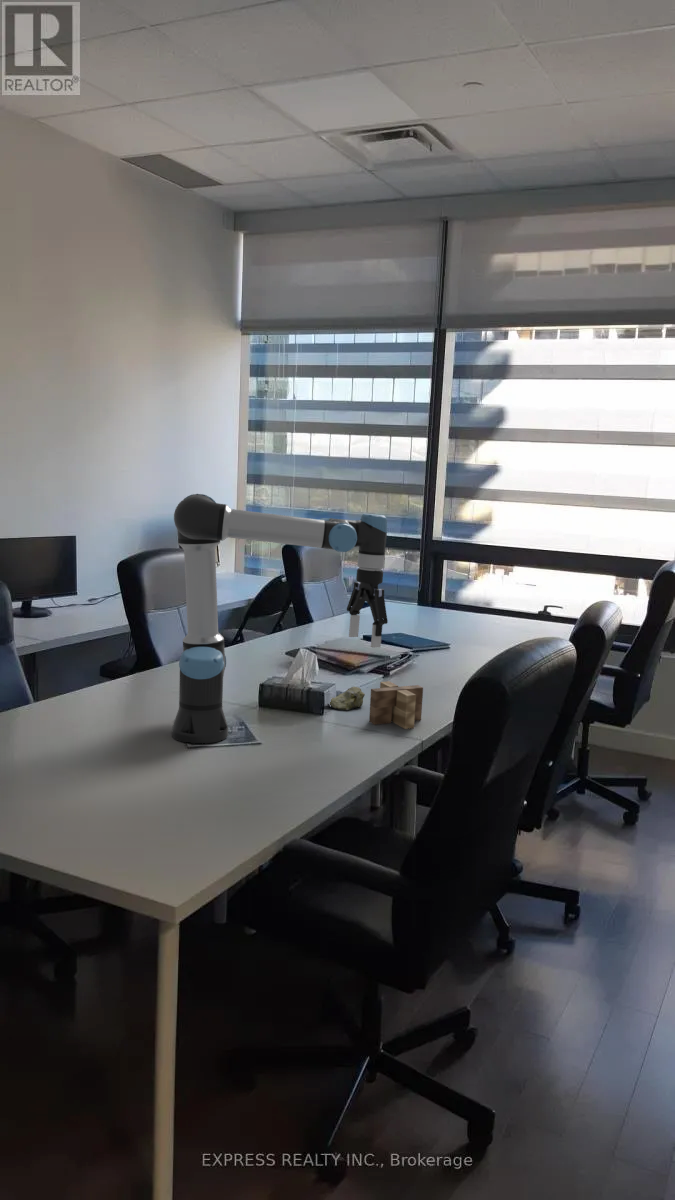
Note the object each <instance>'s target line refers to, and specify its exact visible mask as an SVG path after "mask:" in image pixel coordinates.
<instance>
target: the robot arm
mask: <svg viewBox="0 0 675 1200" xmlns="http://www.w3.org/2000/svg"><path fill="white" fill-rule="evenodd" d="M173 522H174V525H175V527H176V530H177V544H178V545H179V546H180V547H181V549H183V552H184V553H183V556H184V558H183V559H184V576H185V601H186V620H187V623H186V625H187V634H186V635H185V636H184V638H182V653H181V655H180V657H179V663H178V667H179V689H178V690H179V691H178V693H179V694H178V695H179V697H178V699H179V700H178V710H177V712H176V715H175V717H174V718H175V719H174V721H173V724H172V728H171V737H172V738H173V739H174V740H177V741H179V742H182V743H186V742H191V743H190V744H195V743H202V744H203V743H205V744H213V743H217V742H221V740H222V741H223V740H225V738H226V737H227V736H229V727H228V723H227V719H226V716H225V713H224V709H223V698H224V697H223V694H224V693H223V691H224V690H223V689H224V676H225V670H226V667H227V656H226V655H225V652H226V651H225V638H224V636H223V635H222V634H221V633H220V632H219V620H218V619H219V616H218V612H219V611H218V589H217V587H218V586H217V569H216V568H217V567H216V566H217V565H216V548H217V547H218V545H220V544H221V541H225V540H227V539H228V538H230V539H240V540H247V541H256V542H264V543H265V542H266V543H273V544H274V543H275V544H283V545H292V546H302V547H308V548H309V547H310V548H317V549H323V550H332V551H336V552H338V553H346V552H349V551H351V550H352V549H353V548H358V554H357V567H358V568H357V569H356V578H355V579H356V581H354V583H353V589H352V591H351V595H350V598H349V601H348V603H347V607H346V611H347V612H349V615H350V616H349V617H350V619H349V628H348V629H349V630H348V631H349V632H348V637H349V638H359V632H360V617H361V612H360V611H361V610H362V608H363V606H364V604H365V603H367V604H368V605H369V607H370V608H369V609H370V612H371V615H372V619H373V623H372V629H371V630H372V631H371V640H370V647H371V648H381V646H382V634H383V626H384V625H388V623H389V622H388V621H389V620H388V615H387V610H386V609H387V607H386V601H385V589H384V588H379V585H380V584H382V583H383V581H384V579H383V578H384V570H383V569H384V567H385V566H384V565H385V560H386V558H385V554H386V545H387V536H388V517H386V515H384V514H378V513H377V514H375V513H362V514H361V516H360V520H359V519H356V520H355V519H341V518H333V517H329V518H327V517H324V518H323V517H321V518H320V519H316V518H308V517H300V516H291V515H285V514H284V515H282V514H274V513H267V512H258V511H251V510H241V509H233V508H230V507H229V505H228V504H226V503H218V502H216V500H214V499H213V498H212V497H211V496H209V495H206V494H203V493H202V494H201V493H195V494H194V493H192V494H190V495H187V496H185V497H183V499H182V500H181V501H180V502H179V503H178V504H177V506H176V507H175V509H174V512H173ZM227 738H228V737H227ZM227 738H226V739H227ZM202 744H201V745H202ZM203 745H204V744H203Z"/></svg>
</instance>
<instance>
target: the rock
mask: <svg viewBox="0 0 675 1200" xmlns="http://www.w3.org/2000/svg"><path fill="white" fill-rule="evenodd" d="M365 696H366V695H365V693H364V692H363V691H362V689H361V688H360V687H358V686H351V687H350V688H348V689H347V690H346V691H344V692H341V693H339V694H338V695H336V696H334V697H335V698H334V697H331V698H332V699H331V702H330V705H331V709H335V710H338V711H350V710H352V709H353V710H354V709H358V708H361V707H362V706H363V704H364V698H365Z"/></svg>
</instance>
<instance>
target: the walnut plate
mask: <svg viewBox="0 0 675 1200" xmlns="http://www.w3.org/2000/svg"><path fill="white" fill-rule="evenodd" d="M397 690H407V691H409V692H411V693H413V694H415V695H416V702H415V718H414V722H416V721H422V713H423V712H422V711H423V695H424V687H423V686H421V685H419V684H417V685H403V686H398V687H388V688H380V687H379V688H377V687H376V688H370V699H369V700H370V702H369V703H370V704H369V719H368V722H369V723H370V724H371V725H374V726H375V725H385V724H392V721H391V718H392V707H393V706H396V701H397ZM415 720H416V721H415Z"/></svg>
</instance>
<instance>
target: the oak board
mask: <svg viewBox="0 0 675 1200" xmlns="http://www.w3.org/2000/svg"><path fill="white" fill-rule="evenodd" d="M379 685H380V686H379V688H388V687H399V685H397V684H395V683H393V682H392V681H389V680H388V681H380V684H379ZM415 702H416V695H415V694H413V693H411V692H409V691H407V690H397V701H396V706H393V707H392V718H391V723H393V724H395V725H397V726H398V727H401V728H402V729H404V730H410V728H411V729H414V728H415V721H414V718H415ZM408 728H409V729H408Z"/></svg>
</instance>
